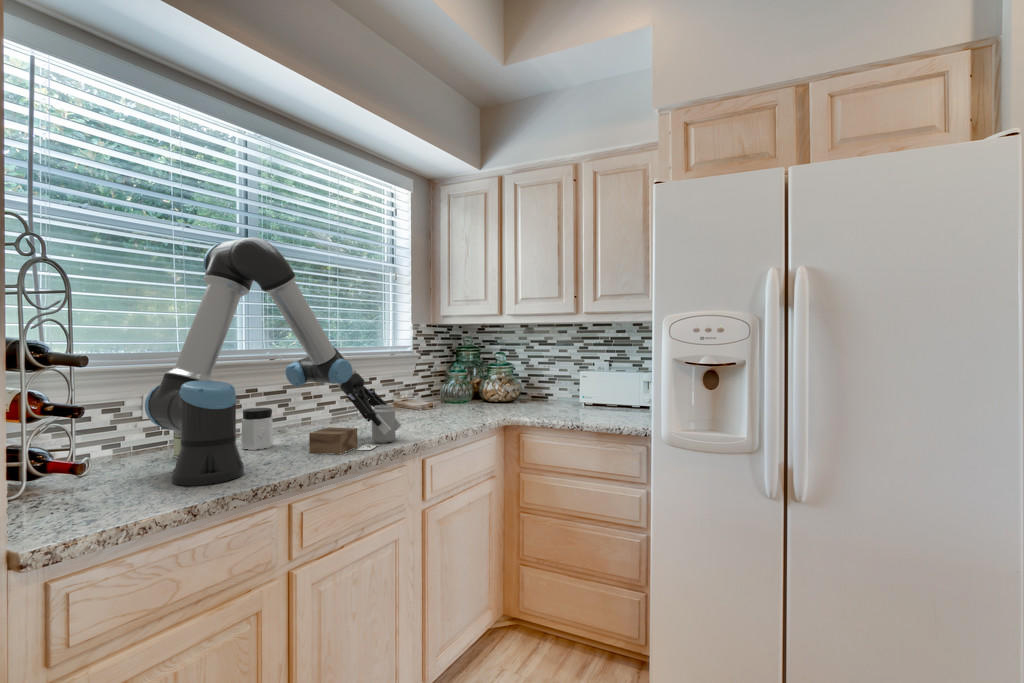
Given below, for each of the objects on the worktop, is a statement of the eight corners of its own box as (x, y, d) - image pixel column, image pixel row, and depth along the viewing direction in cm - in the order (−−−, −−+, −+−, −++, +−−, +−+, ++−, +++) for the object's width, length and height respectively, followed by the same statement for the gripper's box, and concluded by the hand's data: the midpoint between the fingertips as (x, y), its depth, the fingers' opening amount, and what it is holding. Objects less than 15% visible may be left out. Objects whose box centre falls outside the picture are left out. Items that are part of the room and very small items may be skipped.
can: (399, 439, 171) (399, 404, 171) (388, 444, 163) (388, 407, 163) (378, 439, 172) (378, 403, 172) (367, 443, 165) (367, 406, 165)
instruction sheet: (370, 450, 154) (370, 450, 154) (354, 450, 154) (354, 449, 154) (379, 445, 162) (379, 444, 162) (364, 445, 162) (364, 444, 162)
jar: (246, 451, 154) (246, 412, 154) (238, 447, 159) (237, 409, 159) (277, 447, 160) (276, 409, 160) (268, 443, 166) (267, 406, 166)
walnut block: (339, 454, 149) (339, 434, 149) (309, 453, 151) (309, 432, 151) (357, 447, 159) (357, 428, 159) (328, 446, 161) (328, 427, 161)
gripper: (356, 385, 181) (399, 431, 178) (324, 390, 161) (371, 443, 158) (370, 370, 180) (413, 417, 176) (339, 374, 160) (386, 427, 157)
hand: (393, 429), depth 167 cm, fingers closed on can, 7 cm apart
